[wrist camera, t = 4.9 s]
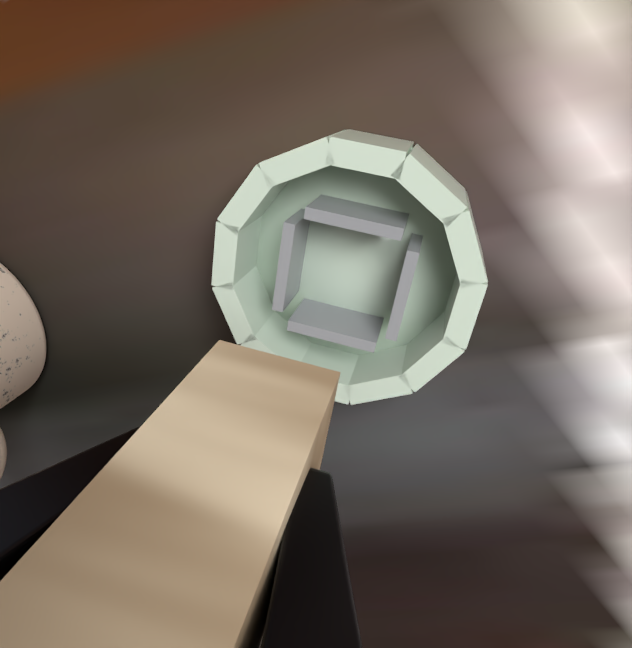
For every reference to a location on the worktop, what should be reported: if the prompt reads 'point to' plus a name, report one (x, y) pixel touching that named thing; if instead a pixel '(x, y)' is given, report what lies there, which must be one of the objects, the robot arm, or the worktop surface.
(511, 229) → the worktop surface
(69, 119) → the worktop surface
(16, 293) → the teacup with lid
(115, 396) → the worktop surface
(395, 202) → the light green piece
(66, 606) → the wooden square beam
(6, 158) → the worktop surface
